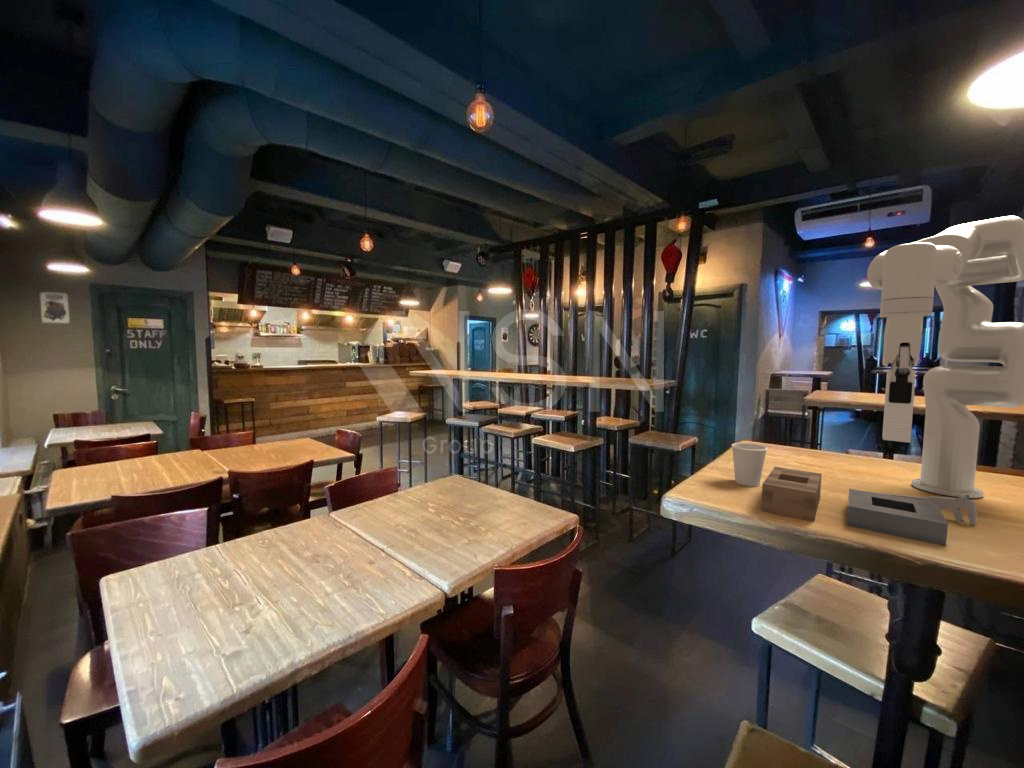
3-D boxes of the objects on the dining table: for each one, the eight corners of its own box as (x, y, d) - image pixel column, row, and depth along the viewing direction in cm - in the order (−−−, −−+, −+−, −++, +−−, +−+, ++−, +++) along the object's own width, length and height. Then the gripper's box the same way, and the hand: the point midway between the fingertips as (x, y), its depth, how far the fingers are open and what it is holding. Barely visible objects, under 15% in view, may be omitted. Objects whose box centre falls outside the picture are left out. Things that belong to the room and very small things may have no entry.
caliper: (975, 526, 85) (978, 496, 85) (973, 527, 85) (976, 497, 84) (858, 495, 104) (860, 470, 103) (856, 495, 103) (857, 470, 103)
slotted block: (773, 489, 106) (774, 466, 106) (820, 498, 100) (821, 473, 100) (761, 510, 92) (762, 483, 92) (814, 521, 86) (815, 493, 86)
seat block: (848, 505, 96) (849, 488, 95) (934, 521, 87) (936, 502, 86) (846, 525, 85) (848, 505, 84) (946, 545, 76) (947, 524, 76)
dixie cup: (736, 487, 108) (738, 448, 108) (725, 477, 117) (726, 442, 116) (771, 489, 107) (773, 450, 106) (757, 479, 115) (759, 443, 115)
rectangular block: (882, 436, 88) (887, 369, 86) (908, 439, 85) (913, 369, 84) (883, 439, 84) (888, 370, 83) (910, 442, 82) (916, 370, 81)
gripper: (879, 313, 91) (873, 397, 93) (881, 307, 79) (874, 404, 80) (927, 311, 87) (920, 399, 88) (938, 304, 74) (930, 408, 75)
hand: (898, 400), depth 84 cm, fingers closed on rectangular block, 4 cm apart
